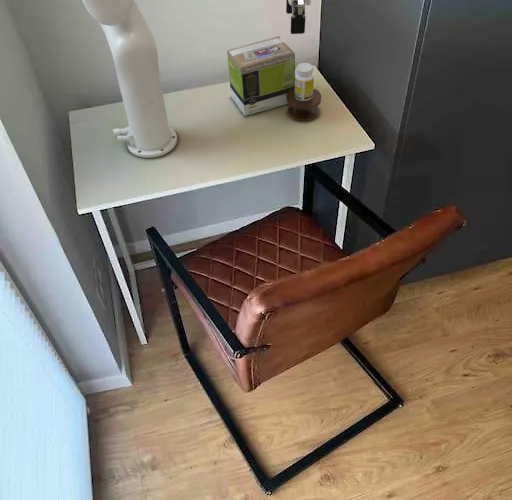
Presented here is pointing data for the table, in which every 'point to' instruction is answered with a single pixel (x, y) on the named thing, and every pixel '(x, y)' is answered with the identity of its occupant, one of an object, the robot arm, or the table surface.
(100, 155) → the table surface
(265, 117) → the table surface
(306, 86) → the supplement bottle
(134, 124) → the robot arm
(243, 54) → the tea box
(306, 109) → the stand
